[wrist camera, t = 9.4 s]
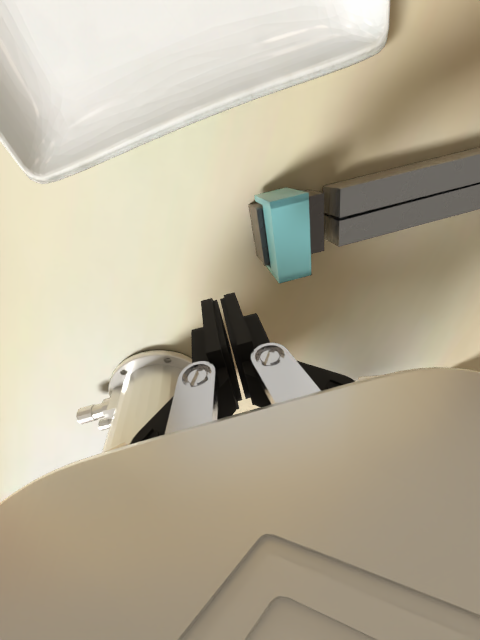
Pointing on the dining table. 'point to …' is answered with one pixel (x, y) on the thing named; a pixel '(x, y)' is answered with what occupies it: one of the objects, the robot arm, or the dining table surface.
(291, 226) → the teal rectangular block
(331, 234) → the bar
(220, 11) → the square plate
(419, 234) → the dining table surface
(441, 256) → the dining table surface
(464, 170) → the tongs frame
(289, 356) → the robot arm
